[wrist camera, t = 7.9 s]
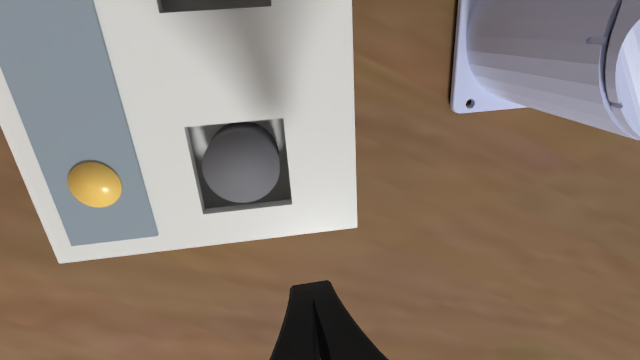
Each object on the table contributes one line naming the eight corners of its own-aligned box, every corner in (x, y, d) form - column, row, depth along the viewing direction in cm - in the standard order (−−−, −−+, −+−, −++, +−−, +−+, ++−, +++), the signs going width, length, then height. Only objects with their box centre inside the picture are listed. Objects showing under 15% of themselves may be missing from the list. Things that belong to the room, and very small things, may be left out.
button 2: (274, 117, 18) (275, 127, 16) (282, 182, 20) (283, 198, 18) (202, 124, 18) (195, 135, 16) (215, 189, 19) (209, 206, 17)
